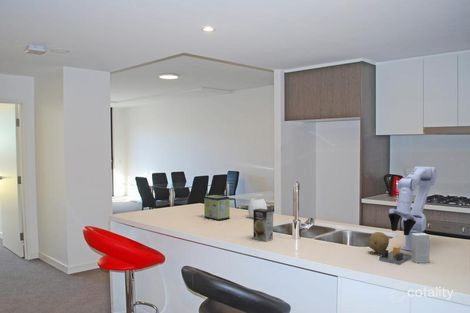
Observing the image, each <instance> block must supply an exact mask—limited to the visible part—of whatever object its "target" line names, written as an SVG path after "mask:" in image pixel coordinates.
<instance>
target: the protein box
mask: <svg viewBox="0 0 470 313" xmlns="http://www.w3.org/2000/svg"><path fill="white" fill-rule="evenodd" d="M203 197H204V198H203V200H204V202H203V203H204V205H203V206H204V207H203V208H204V209H203V210H204V214H203V215H204V219H207V220H211V221H216V222H220V221H225V220H230V217H231V216H230V214H231V213H230V196H225V195H219V194H218V195H217V194H212V195H204V196H203Z"/></svg>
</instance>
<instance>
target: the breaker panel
mask: <svg viewBox="0 0 470 313" xmlns="http://www.w3.org/2000/svg"><path fill="white" fill-rule="evenodd" d="M379 260H380V262H386V263H390V264H394V263H395V264H396V265H399V264H400V265H402V264H404V263H405V262H408V261H409V260H412V253H411V254H410V253H405V252H400V253H397V254H396V256H395V255H393V250H390V252H389V250H388V249H386V250H383V251H382V253H381V256H379V258H378V261H379ZM403 262H404V263H403ZM401 263H402V264H401ZM395 264H394V265H395Z"/></svg>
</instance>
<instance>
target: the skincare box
mask: <svg viewBox="0 0 470 313" xmlns="http://www.w3.org/2000/svg"><path fill="white" fill-rule="evenodd" d="M411 243H412V251H411V255H412V259H411V261H412V262H414V263H415V264H427V263H430V234H427V233H425V232H423V233H411Z"/></svg>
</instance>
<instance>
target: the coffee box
mask: <svg viewBox="0 0 470 313" xmlns="http://www.w3.org/2000/svg"><path fill="white" fill-rule="evenodd" d="M252 219H253V227H252V228H253V240H256V241H262V242H265V243H267V242H270V241H273V240H274V210H273V209H268V208H267V209H261V208H260V209H254V210H253V218H252Z"/></svg>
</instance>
